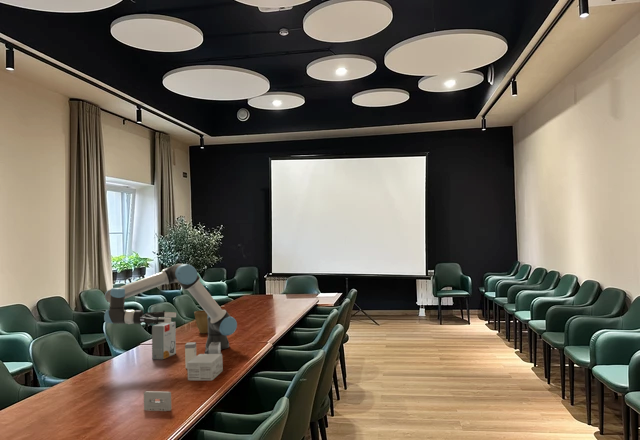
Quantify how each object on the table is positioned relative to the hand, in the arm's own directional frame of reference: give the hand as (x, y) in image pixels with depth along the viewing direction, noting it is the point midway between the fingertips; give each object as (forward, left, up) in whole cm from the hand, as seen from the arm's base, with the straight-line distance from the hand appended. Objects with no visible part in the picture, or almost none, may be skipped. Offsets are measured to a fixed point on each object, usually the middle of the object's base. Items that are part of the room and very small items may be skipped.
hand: (173, 317), depth 267 cm
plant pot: (-55, -78, -28) cm, 100 cm away
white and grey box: (-8, +7, -28) cm, 30 cm away
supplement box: (-6, +27, -28) cm, 40 cm away
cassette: (+31, +60, -28) cm, 73 cm away
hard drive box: (-5, -28, -28) cm, 40 cm away
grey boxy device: (-16, +13, -28) cm, 34 cm away
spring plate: (-14, +11, -28) cm, 33 cm away
